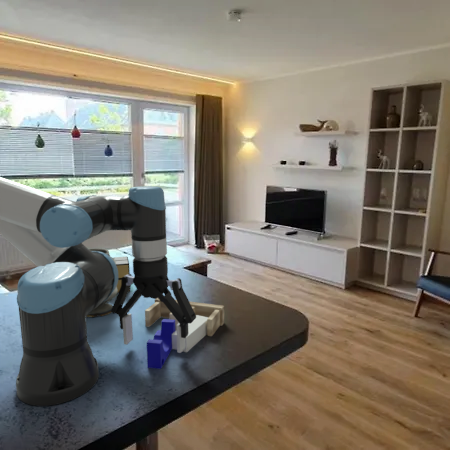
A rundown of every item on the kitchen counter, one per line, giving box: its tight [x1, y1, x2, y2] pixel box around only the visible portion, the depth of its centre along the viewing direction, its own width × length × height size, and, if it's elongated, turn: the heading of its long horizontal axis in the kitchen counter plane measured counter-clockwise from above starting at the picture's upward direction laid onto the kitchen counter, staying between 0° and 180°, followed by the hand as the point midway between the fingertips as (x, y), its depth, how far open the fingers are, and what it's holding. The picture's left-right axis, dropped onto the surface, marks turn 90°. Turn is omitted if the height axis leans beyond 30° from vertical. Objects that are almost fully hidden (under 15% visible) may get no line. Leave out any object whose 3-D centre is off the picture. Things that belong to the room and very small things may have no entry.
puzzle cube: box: [112, 255, 131, 294], centre depth 129 cm, size 10×10×10 cm
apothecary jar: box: [86, 248, 118, 318], centre depth 110 cm, size 12×12×18 cm
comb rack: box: [144, 298, 225, 337], centre depth 102 cm, size 8×20×5 cm, turn 72°
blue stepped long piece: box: [146, 318, 175, 370], centre depth 87 cm, size 12×4×6 cm, turn 172°
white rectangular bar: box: [172, 315, 209, 353], centre depth 94 cm, size 12×4×4 cm, turn 155°
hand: (154, 345), depth 87 cm, fingers open, 13 cm apart
